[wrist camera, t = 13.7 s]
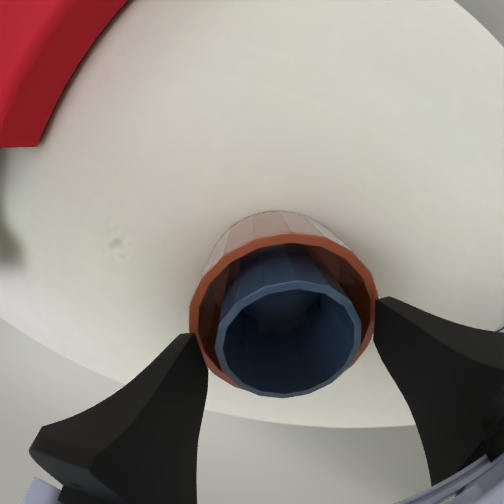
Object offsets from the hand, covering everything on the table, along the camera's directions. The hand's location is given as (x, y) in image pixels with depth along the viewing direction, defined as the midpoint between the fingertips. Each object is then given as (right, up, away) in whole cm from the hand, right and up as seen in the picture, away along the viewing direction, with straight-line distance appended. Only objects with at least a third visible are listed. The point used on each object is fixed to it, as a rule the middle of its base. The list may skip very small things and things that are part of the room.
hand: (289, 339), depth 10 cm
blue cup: (0, +2, +5) cm, 5 cm away
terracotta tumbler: (0, +2, +5) cm, 6 cm away
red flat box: (-19, +21, -1) cm, 28 cm away
